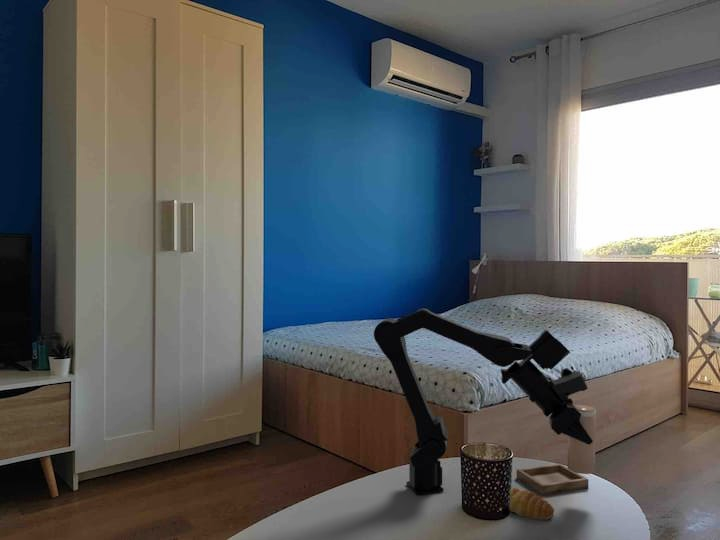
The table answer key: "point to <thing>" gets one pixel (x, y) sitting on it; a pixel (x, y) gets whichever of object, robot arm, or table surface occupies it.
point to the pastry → (529, 505)
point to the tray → (552, 478)
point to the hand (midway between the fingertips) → (588, 438)
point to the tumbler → (583, 444)
